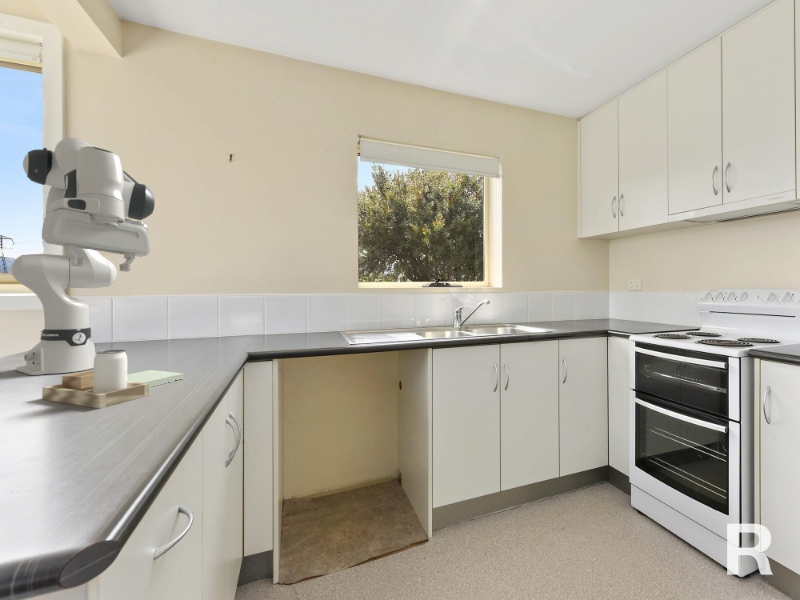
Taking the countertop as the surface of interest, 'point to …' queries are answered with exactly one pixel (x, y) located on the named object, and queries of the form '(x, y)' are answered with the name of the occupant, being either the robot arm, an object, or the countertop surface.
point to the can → (110, 371)
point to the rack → (95, 395)
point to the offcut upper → (78, 380)
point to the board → (154, 377)
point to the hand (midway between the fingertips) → (102, 268)
